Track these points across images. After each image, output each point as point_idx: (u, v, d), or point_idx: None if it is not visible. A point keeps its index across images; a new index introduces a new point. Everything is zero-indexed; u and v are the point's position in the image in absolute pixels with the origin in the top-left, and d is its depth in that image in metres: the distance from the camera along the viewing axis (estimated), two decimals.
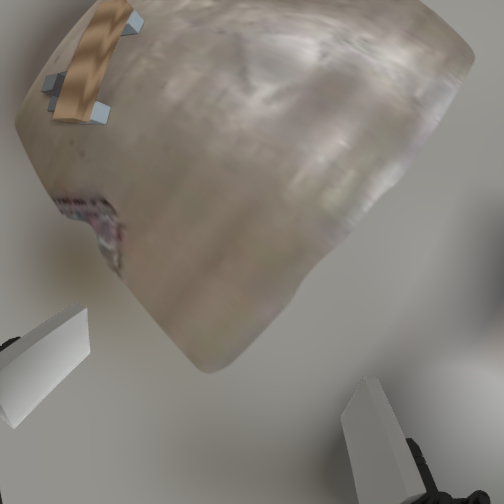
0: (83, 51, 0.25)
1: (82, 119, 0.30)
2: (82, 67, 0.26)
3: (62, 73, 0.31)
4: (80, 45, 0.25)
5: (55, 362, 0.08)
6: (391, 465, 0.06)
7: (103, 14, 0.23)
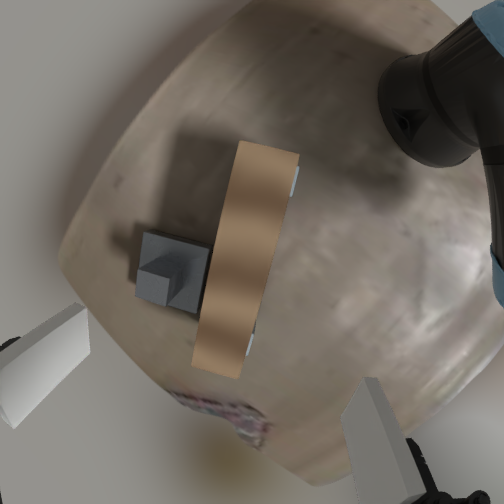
0: (232, 270, 0.23)
1: None
2: (238, 305, 0.24)
3: (150, 236, 0.29)
4: (219, 249, 0.23)
5: (55, 362, 0.08)
6: (391, 465, 0.06)
7: (259, 184, 0.21)
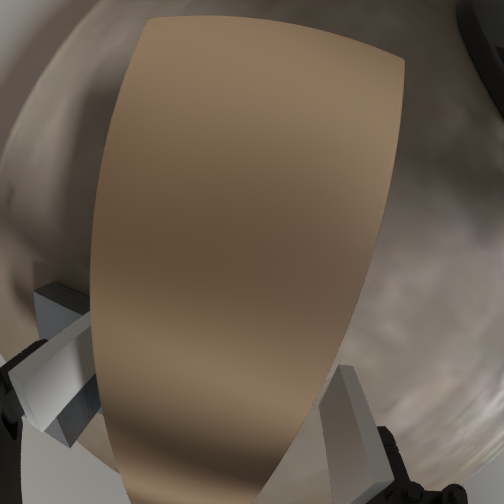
0: (167, 457, 0.06)
1: None
2: (199, 499, 0.06)
3: (42, 301, 0.12)
4: (117, 412, 0.06)
5: (83, 363, 0.09)
6: (359, 450, 0.06)
7: (224, 184, 0.04)
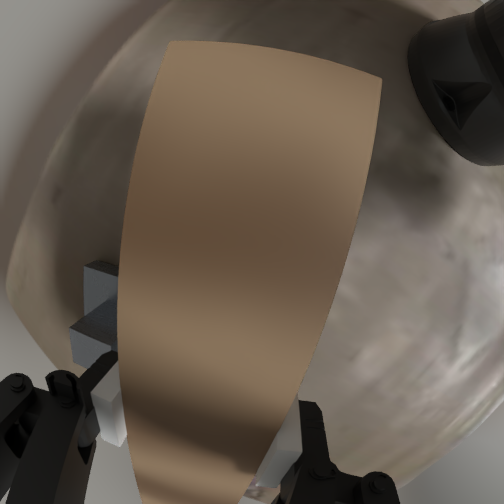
0: (177, 428, 0.07)
1: None
2: (204, 475, 0.08)
3: (92, 273, 0.19)
4: (134, 384, 0.07)
5: None
6: None
7: (236, 182, 0.05)
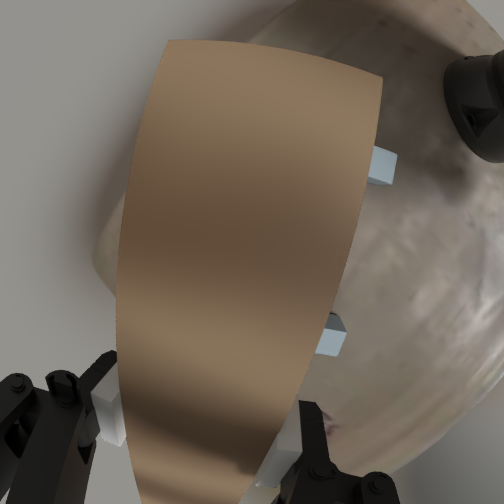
0: (177, 430, 0.07)
1: None
2: (204, 476, 0.08)
3: None
4: (133, 385, 0.07)
5: None
6: None
7: (235, 182, 0.05)
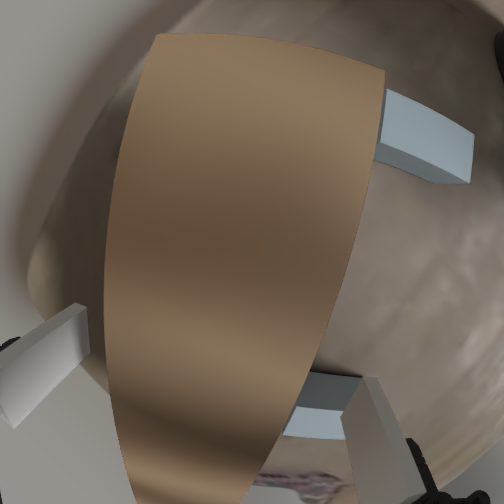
0: (170, 439, 0.07)
1: None
2: (199, 484, 0.07)
3: None
4: (124, 394, 0.06)
5: (55, 362, 0.08)
6: (391, 465, 0.06)
7: (225, 183, 0.05)
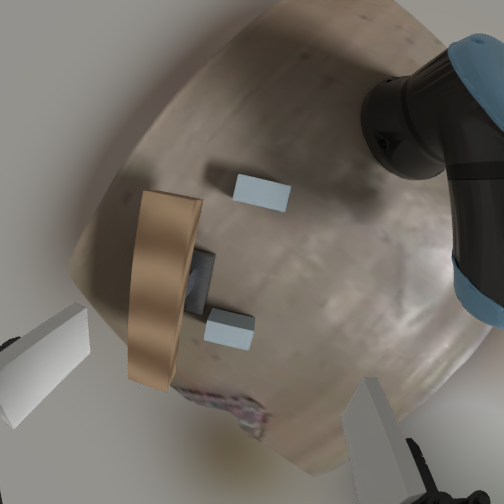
0: (146, 302, 0.25)
1: (171, 380, 0.30)
2: (155, 331, 0.26)
3: None
4: (134, 285, 0.25)
5: (55, 362, 0.08)
6: (391, 465, 0.06)
7: (160, 229, 0.24)
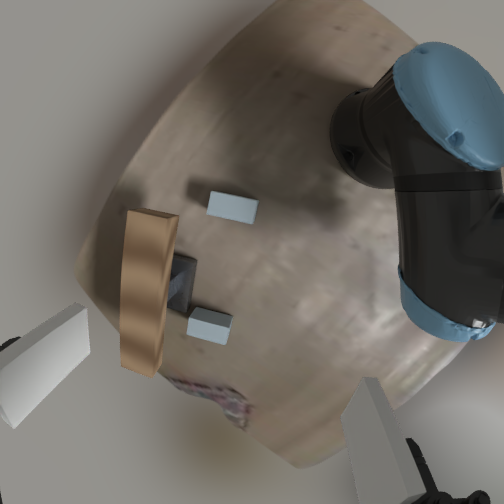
0: (133, 301, 0.30)
1: (157, 368, 0.35)
2: (141, 325, 0.31)
3: None
4: (124, 287, 0.30)
5: (55, 362, 0.08)
6: (391, 465, 0.06)
7: (142, 242, 0.28)
